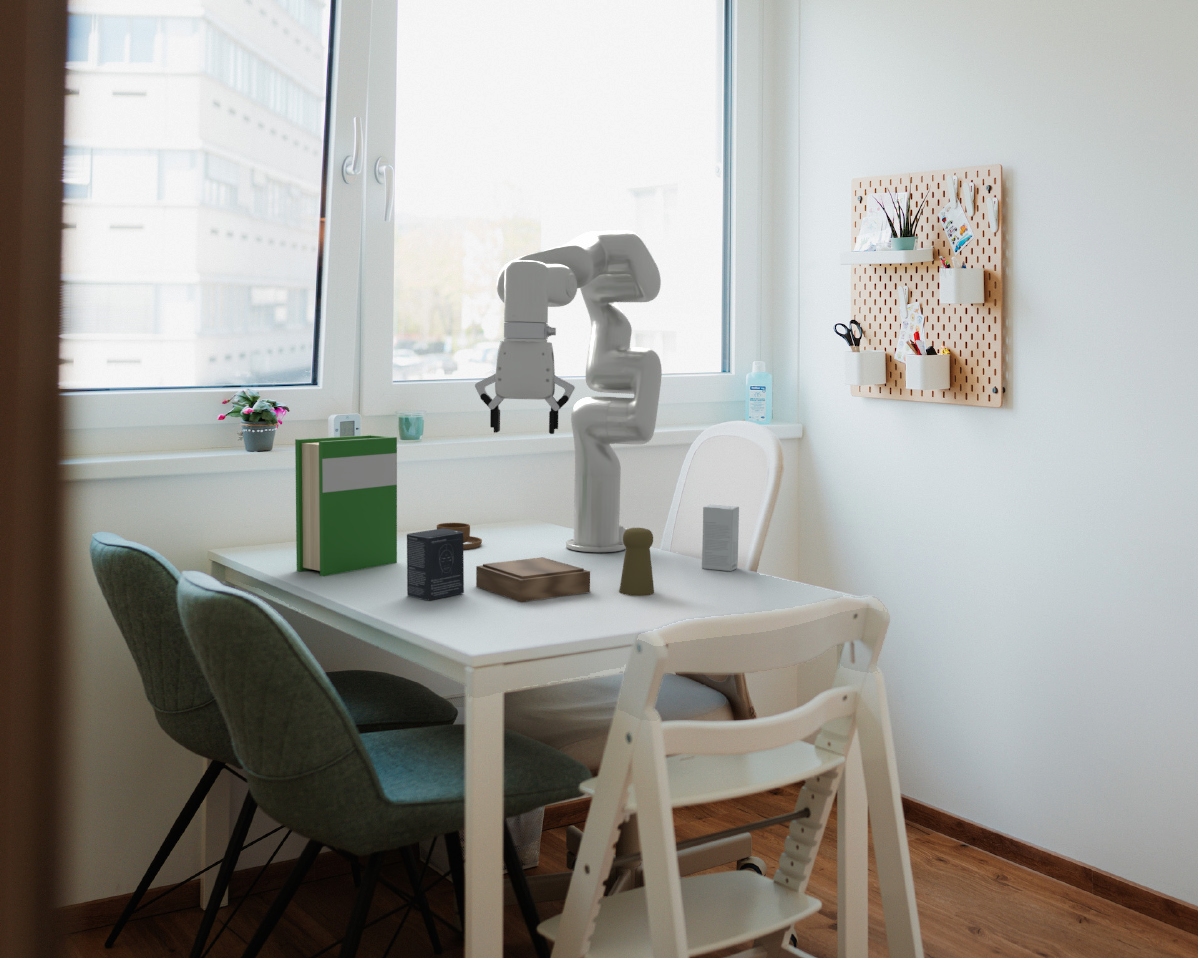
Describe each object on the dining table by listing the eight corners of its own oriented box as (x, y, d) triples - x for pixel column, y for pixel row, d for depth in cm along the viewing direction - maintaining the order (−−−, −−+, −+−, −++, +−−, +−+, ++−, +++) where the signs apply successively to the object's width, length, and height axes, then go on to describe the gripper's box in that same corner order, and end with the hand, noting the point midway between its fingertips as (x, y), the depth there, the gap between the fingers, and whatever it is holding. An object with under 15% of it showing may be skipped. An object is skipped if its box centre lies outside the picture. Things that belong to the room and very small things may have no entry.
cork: (651, 596, 181) (653, 531, 180) (616, 594, 182) (617, 530, 181) (656, 589, 187) (658, 526, 186) (622, 587, 188) (623, 524, 187)
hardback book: (323, 576, 193) (322, 441, 190) (296, 570, 197) (295, 439, 194) (396, 562, 207) (396, 437, 204) (370, 557, 211) (370, 435, 208)
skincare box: (738, 568, 208) (740, 506, 207) (731, 571, 204) (733, 509, 203) (708, 565, 211) (710, 504, 209) (700, 568, 207) (702, 506, 205)
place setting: (474, 556, 218) (474, 527, 217) (376, 553, 218) (376, 524, 218) (487, 542, 235) (487, 515, 234) (396, 539, 236) (396, 512, 235)
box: (441, 589, 184) (442, 527, 183) (464, 594, 181) (464, 531, 179) (405, 596, 178) (405, 532, 177) (428, 601, 175) (428, 536, 173)
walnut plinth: (543, 578, 195) (543, 556, 194) (589, 592, 184) (590, 569, 183) (476, 586, 186) (476, 563, 186) (520, 602, 175) (520, 577, 175)
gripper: (576, 335, 190) (575, 432, 192) (479, 333, 191) (478, 430, 193) (574, 334, 183) (572, 435, 185) (472, 332, 183) (471, 433, 185)
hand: (524, 432), depth 189 cm, fingers open, 9 cm apart
